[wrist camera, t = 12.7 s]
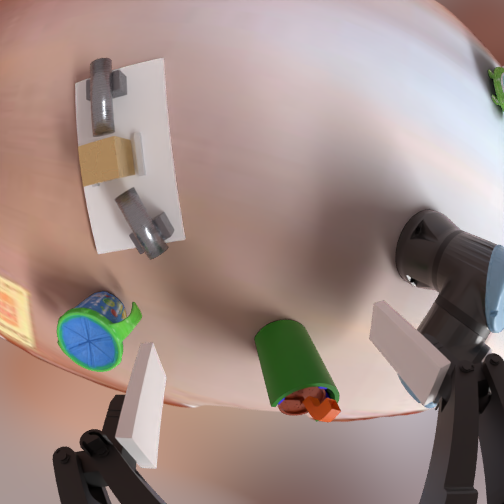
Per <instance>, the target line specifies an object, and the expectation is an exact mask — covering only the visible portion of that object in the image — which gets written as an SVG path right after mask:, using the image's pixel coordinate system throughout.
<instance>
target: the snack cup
mask: <svg viewBox="0 0 504 504" xmlns="http://www.w3.org/2000/svg"><path fill="white" fill-rule="evenodd" d="M141 318H142V314H141V312H140V310H139V308H138V306H137V305H136V303H135V302H133V303H132V309H131V313H130V315H129V316H128V317H127V318H126V311H125V307H124V305H123V303H122V302H120V301H119V299H118V298H116V297H115V296H114V295H112V294H109V293H108V292H105V291H103V292H97V293H94V294H92V295H91V296H89V297H88V298H86V299H85V300H84V301H83V302H81V303H80V304H79V305H77V306H76V307H75V308H73V309H70V310H68V311H67V312H66V313H65V314H64V315H63V316H61V317H60V318H59V320H58V325H57V337H58V342H57V343H58V345H59V346H60V348H61V349H62V351H63V352H64V353H65V354H66V355H67V356H68V357H69V358H71V359H72V360H73V361H74V362H75V363H76V364H78V365H80V366H81V367H83V368H86V369H88V370H91V371H97V372H105V371H109V370H111V369H113V368H115V367H116V366H117V365H118V364H119V363H120V362H121V360H122V358H121V357H122V354H123V342H122V341H123V340H124V339H125V338H126V337H127V336H128V335H129V334H130V333H131V331H132V330H133V329H134V328H135V326H136V325H137V324H138V322H139V321H140V320H141Z"/></svg>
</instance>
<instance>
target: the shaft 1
mask: <svg viewBox="0 0 504 504" xmlns="http://www.w3.org/2000/svg"><path fill="white" fill-rule="evenodd" d="M124 95H127V76H125V75H124V74H123V73H122V72H121V71H120V70H116V71H112V60H111V59H109V58H101V59H97V60H95V61H93V62H92V63H91V64H90V79H88V80H86V100H88V101H91V120H92V133H93V137H100V136H105V135H109V134H112V133H114V132H115V127H114V114H113V99H114V98H117V97H121V96H124Z"/></svg>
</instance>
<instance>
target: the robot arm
mask: <svg viewBox="0 0 504 504" xmlns="http://www.w3.org/2000/svg"><path fill="white" fill-rule="evenodd" d="M396 264H397V269H398V272H399V274H400V275H401V277H402V278H403V279H404V280H405V281H407V282H408V283H409V284H411V285H413V286H415V287H418V288H424V289H430V290H436V291H438V292H439V295H438V297H437V299H436V300H435V302H434V303H433V305H432V307H431V308H430V310H429V312H428V313H427V315H426V316H425V318H424V319H423V321H422V322H421V324H420V325H419V327H418V328H417V330H416V329H415V328H414V327H413V326H412V325H411V324H410V323H409V322H408V321H407V320H405V319H404V318H403V317H402V316H401V315H400V314H399V313H398V312H397V311H395V310H394V309H393V308H392V307H391V306H390V305H389V304H388V303H386V302H385V301H384V300H383V301H380V302H376V303H374V306H373V315H372V323H371V330H370V337H369V339H370V340H371V341H372V343H373V344H374V345H375V346H376V347H377V349H378V350H379V351H380V352H381V353H382V355H383V356H384V357H385V358H386V359H387V361H388V362H389V363H390V364H391V366H392V367H393V368H394V369H395V371H396V372H397V374H398V376H399V379H400V381H401V383H402V384H403V386H404V387H405V389H406V390H407V391H408V393H409V394H410V395H411V396H412V397H413V398H414V399H415V400H416V401H417V402H418V403H421V404H422V405H423V406H424V407H427V408H434V407H436V408H435V410H437V408H438V407H439V411H438V420H437V427H436V434H435V440H434V446H433V451H432V457H431V461H430V466H429V470H428V474H427V478H426V482H425V486H424V489H423V493H422V496H421V499H420V503H419V504H477V498H478V492H477V490H476V489H474V487H473V485H474V478H475V471H476V461H477V451H478V436H479V441H480V446H481V452H482V457H483V464H484V473H485V482H486V495H487V504H504V361H503V359H502V358H501V356H499V355H497V354H495V353H492V349H491V348H490V347H488V346H487V345H486V344H485V340H486V339H487V337H488V335H489V334H490V332H492V333H499V332H501V331H502V330H503V329H504V247H503V246H501V245H496V244H494V243H492V242H489V241H487V240H485V239H482V238H480V237H477V236H475V235H472V234H470V233H467V232H464V231H462V230H460V229H459V228H458V227H457V226H456V225H455V224H454V223H453V222H452V221H451V220H450V219H449V218H448V217H447V216H445V215H444V214H442V213H440V212H437V211H433V210H424V211H421V212H419V213H417V214H416V215H415V216H413V217H412V218H411V219H410V220H409V222H408V223H407V224H406V226H405V227H404V229H403V231H402V233H401V235H400V238H399V241H398V245H397V250H396ZM165 384H166V375H165V372H164V370H163V367H162V365H161V362H160V360H159V357H158V354H157V352H156V349H155V346H154V344H153V342H151V343H141V344H140V347H139V350H138V354H137V357H136V360H135V363H134V367H133V370H132V374H131V377H130V381H129V384H128V388H127V391H126V395H115V397H114V398H113V399H112V401H111V402H110V405H109V409H108V412H107V415H106V419H105V422H104V426H103V429H102V431H100V430H97V429H92V430H89V431H87V432H85V433H84V434H83V435H82V436H81V438H80V446H81V448H82V449H83V450H84V451H79V452H74V451H73V450H72V449H71V448H69V447H61V448H58V449H57V450H56V451H55V452H54V454H53V466H54V472H55V477H56V482H57V487H58V492H59V496H60V501H61V504H111V501H110V499H109V496H108V493H107V491H106V488H105V486H109V487H110V489H111V490H112V492H113V493H114V495H115V496H116V497H117V499H118V500H119V502H120V503H121V504H166V503H165V502H164V501H163V500H162V498H161V497H160V496H159V495H158V494H157V493H156V492H155V491H154V490H153V489H152V488H151V487H150V485H149V484H148V483H147V482H146V481H145V480H144V479H143V477H142V476H141V475H140V474H139V472H138V471H137V470H136V463H137V464H138V465H139V466H140V467H141V468H156V467H157V454H158V442H159V433H160V423H161V415H162V406H163V399H164V391H165Z"/></svg>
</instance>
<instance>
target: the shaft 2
mask: <svg viewBox="0 0 504 504" xmlns="http://www.w3.org/2000/svg"><path fill="white" fill-rule="evenodd" d="M114 200H115V202H116V204H117V206H118V208H119V209H120V211H121V213H122V215H123V216H124V218H125V220H126V222H127V223H128V225H129V227H130V229H131V230H132V233H131V234H130V235H129V237H130V238H131V240H132V242H133V243H134V245H135V246H136V248H137V250H138V251H139V253H140V254H142V253H144V252H145V253H146V255H147V257H148V258H149V260H151V259H154V258H156V257H157V256H159V255H161V254H162V253H163V252H165V251H166V250H167V249H168V246H167V244H166V242H165V241H164V240H166V239H168V238H170V237H171V236H172V234H173V232H174V228H173V226H172V224H171V223H170V221H169V219H168V217H167V216H166V214H165V212H163V213H161V214H160V215H158V216H156V217H154V218H153V219H152V218H151V217H150V215H149V213H148V211H147V210H146V208H145V206H144V204H143V203H142V201H141V199H140V197H139V195H138V193H137V192H136V190H135V188H134V187H132V188H131V189H129V190H127V191H125V192H124V193H122V194H121V195H119V196H118V197H116V198H115V199H114Z"/></svg>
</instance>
